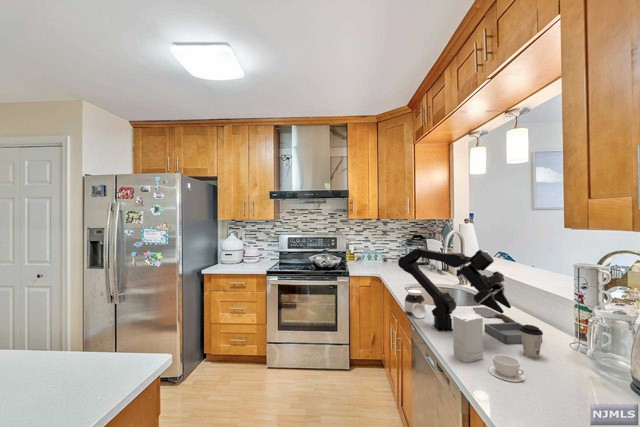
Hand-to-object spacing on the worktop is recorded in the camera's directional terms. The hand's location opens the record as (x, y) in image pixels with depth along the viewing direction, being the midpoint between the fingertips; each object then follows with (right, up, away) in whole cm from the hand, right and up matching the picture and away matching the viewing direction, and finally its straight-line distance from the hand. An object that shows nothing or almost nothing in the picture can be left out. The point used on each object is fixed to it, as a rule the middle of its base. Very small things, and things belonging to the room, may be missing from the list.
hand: (506, 310), depth 114 cm
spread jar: (-23, -15, +37) cm, 46 cm away
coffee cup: (+5, -14, -7) cm, 16 cm away
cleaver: (+15, -15, +34) cm, 40 cm away
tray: (+8, -14, +9) cm, 19 cm away
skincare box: (-19, -14, -9) cm, 26 cm away
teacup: (-12, -14, -20) cm, 27 cm away
